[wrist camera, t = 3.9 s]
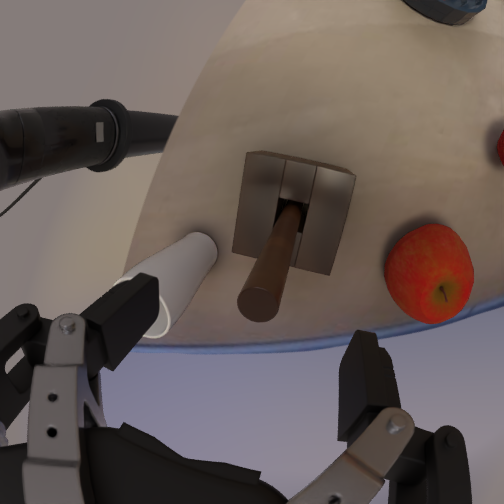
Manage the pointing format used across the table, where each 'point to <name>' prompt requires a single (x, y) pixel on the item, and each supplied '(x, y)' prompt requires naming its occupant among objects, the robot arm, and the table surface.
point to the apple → (430, 273)
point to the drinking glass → (176, 276)
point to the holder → (300, 190)
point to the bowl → (449, 9)
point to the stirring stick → (271, 268)
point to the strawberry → (501, 147)
